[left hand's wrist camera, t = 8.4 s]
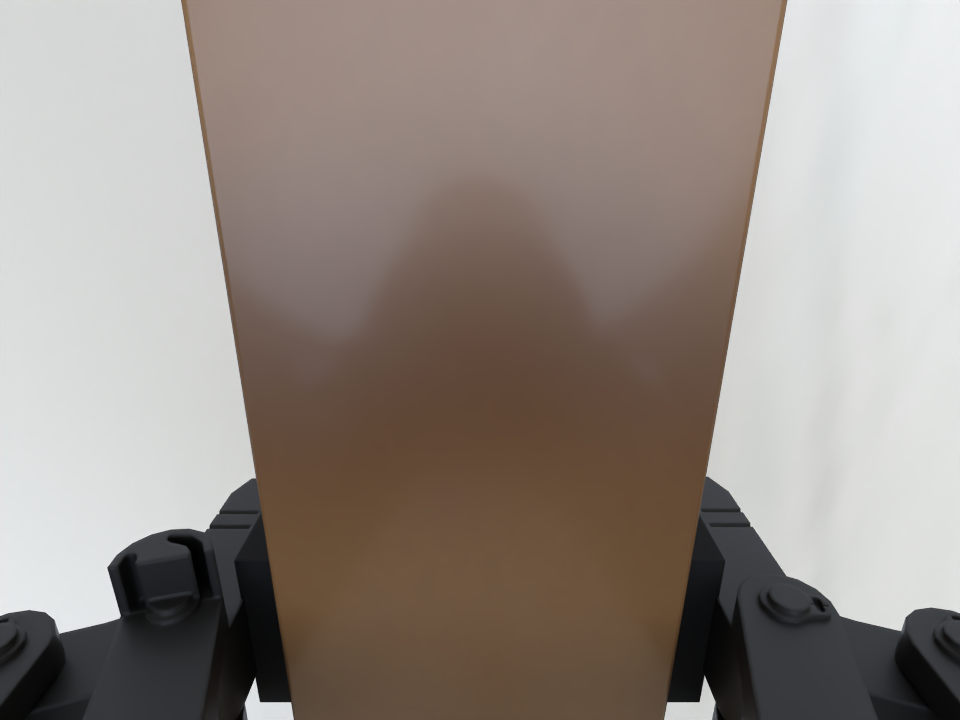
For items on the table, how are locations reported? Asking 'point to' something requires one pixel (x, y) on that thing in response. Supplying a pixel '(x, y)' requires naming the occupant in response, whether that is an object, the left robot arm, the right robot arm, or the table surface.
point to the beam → (481, 330)
